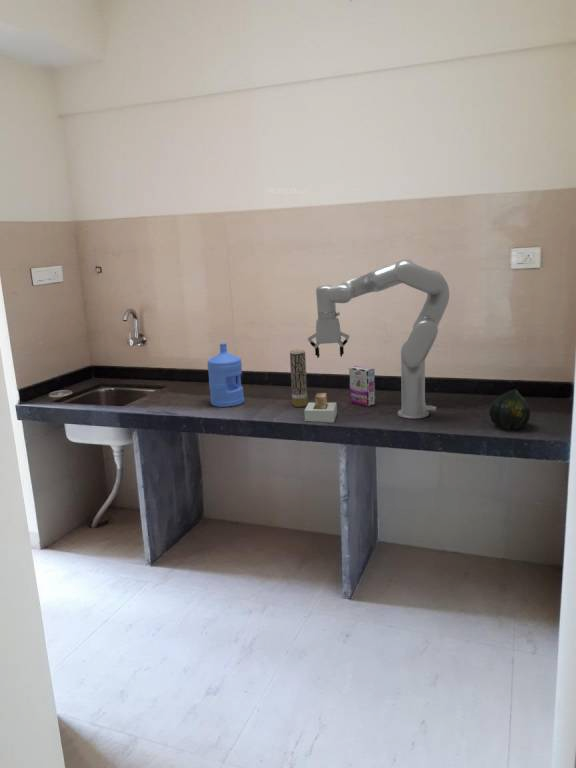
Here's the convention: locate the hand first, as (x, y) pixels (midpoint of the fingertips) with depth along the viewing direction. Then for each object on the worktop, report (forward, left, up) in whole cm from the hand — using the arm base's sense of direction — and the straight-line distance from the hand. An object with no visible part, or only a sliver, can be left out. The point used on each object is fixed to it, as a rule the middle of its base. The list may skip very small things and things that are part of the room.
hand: (329, 356), depth 265 cm
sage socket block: (+4, +5, -25) cm, 26 cm away
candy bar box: (-12, -17, -25) cm, 33 cm away
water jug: (+51, -18, -25) cm, 60 cm away
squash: (-70, +15, -25) cm, 76 cm away
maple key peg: (+4, +5, -25) cm, 26 cm away
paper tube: (+16, -14, -25) cm, 33 cm away
